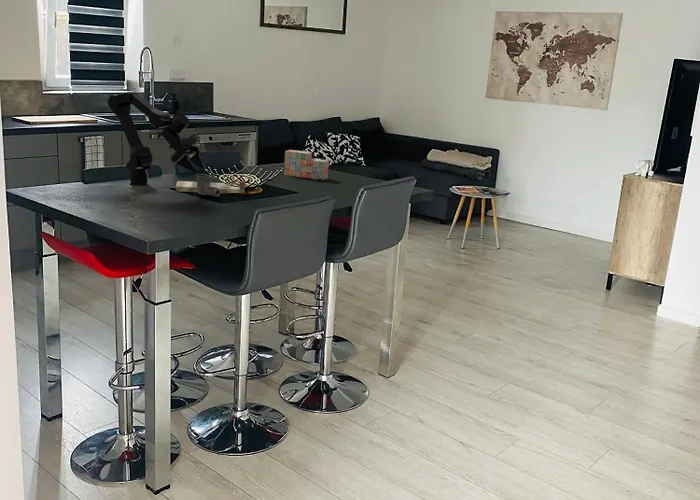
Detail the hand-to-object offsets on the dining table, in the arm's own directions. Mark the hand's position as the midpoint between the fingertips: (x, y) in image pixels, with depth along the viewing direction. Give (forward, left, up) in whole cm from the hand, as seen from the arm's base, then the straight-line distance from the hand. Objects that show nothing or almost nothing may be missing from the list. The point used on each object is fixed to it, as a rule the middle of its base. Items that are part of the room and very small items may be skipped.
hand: (199, 169), depth 281 cm
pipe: (+3, -1, -10) cm, 11 cm away
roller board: (+4, +10, -10) cm, 15 cm away
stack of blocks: (+51, +55, -10) cm, 75 cm away
